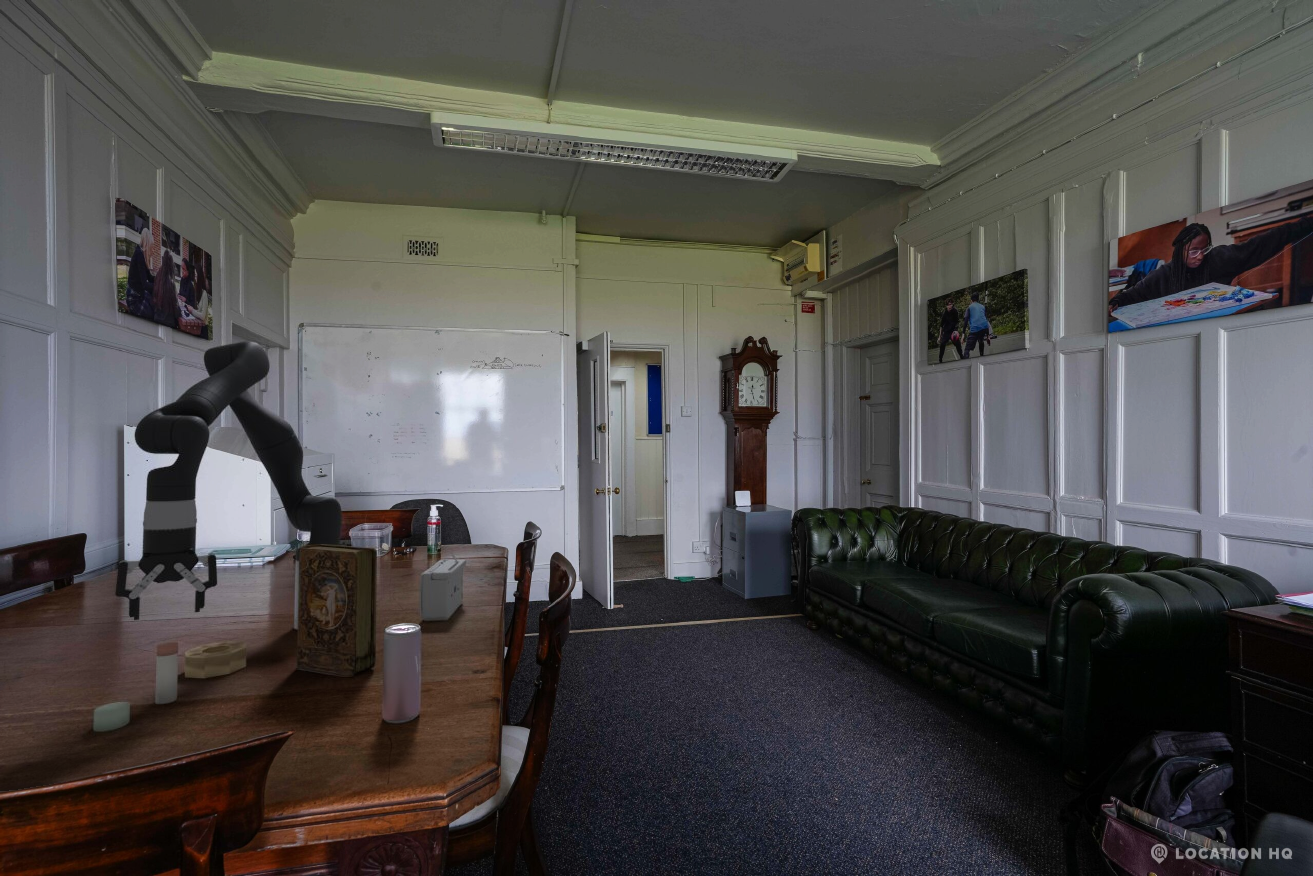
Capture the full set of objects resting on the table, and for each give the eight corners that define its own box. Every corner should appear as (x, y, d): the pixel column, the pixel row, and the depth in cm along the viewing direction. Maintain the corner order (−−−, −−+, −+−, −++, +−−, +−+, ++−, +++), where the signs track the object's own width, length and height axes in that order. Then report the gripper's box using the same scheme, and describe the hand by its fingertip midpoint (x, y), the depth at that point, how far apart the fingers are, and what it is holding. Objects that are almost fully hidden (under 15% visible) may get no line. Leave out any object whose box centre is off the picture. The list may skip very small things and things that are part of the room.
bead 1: (130, 717, 103) (130, 699, 103) (128, 727, 99) (129, 708, 99) (94, 724, 100) (95, 706, 100) (92, 734, 96) (92, 715, 96)
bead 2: (242, 657, 132) (242, 638, 132) (247, 670, 125) (247, 650, 125) (184, 667, 126) (184, 648, 126) (185, 681, 118) (186, 661, 118)
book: (292, 668, 126) (294, 547, 126) (315, 660, 131) (317, 543, 132) (354, 678, 120) (356, 552, 121) (375, 669, 126) (377, 548, 126)
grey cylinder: (176, 696, 111) (178, 641, 112) (177, 701, 109) (178, 645, 109) (155, 700, 110) (156, 644, 110) (155, 705, 107) (156, 648, 107)
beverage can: (389, 709, 106) (390, 623, 106) (424, 709, 107) (425, 623, 107) (376, 725, 100) (378, 633, 101) (413, 724, 101) (415, 633, 101)
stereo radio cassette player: (437, 603, 180) (438, 536, 181) (466, 603, 181) (467, 535, 182) (417, 623, 160) (419, 547, 160) (450, 622, 161) (451, 546, 161)
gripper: (217, 521, 118) (214, 605, 117) (119, 525, 109) (116, 617, 108) (220, 524, 112) (217, 613, 111) (116, 530, 103) (113, 626, 102)
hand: (167, 615), depth 110 cm, fingers open, 8 cm apart
